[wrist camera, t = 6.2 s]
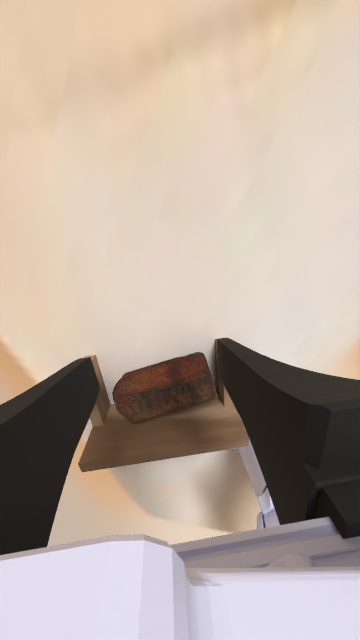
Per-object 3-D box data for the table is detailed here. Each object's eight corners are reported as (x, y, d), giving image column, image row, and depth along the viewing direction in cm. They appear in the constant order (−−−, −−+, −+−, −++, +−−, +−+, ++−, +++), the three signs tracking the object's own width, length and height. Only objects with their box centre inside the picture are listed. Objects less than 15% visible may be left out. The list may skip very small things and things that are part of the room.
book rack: (226, 395, 25) (248, 445, 19) (103, 413, 25) (81, 472, 18) (225, 337, 22) (251, 374, 16) (85, 356, 22) (51, 402, 15)
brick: (201, 347, 23) (210, 370, 18) (209, 373, 24) (219, 400, 20) (118, 373, 23) (107, 401, 19) (131, 397, 24) (123, 429, 20)
